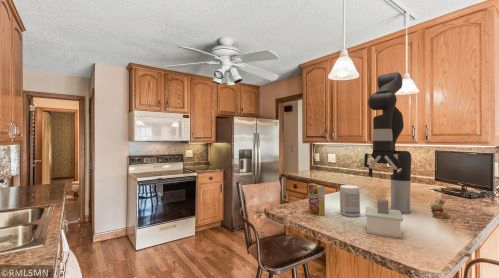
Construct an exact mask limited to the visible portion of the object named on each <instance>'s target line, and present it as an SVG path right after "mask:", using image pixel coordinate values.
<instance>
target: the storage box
mask: <svg viewBox="0 0 499 278" xmlns="http://www.w3.org/2000/svg"><path fill="white" fill-rule="evenodd" d="M366 234H369V235H375V236H376V235H377V236H381V237H388V238H394V239H401V234H402V233H401V221H394V220H386V219H378V218H370V217H366Z"/></svg>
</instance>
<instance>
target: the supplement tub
mask: <svg viewBox="0 0 499 278" xmlns="http://www.w3.org/2000/svg"><path fill="white" fill-rule="evenodd" d="M360 193H361V192H360V186H357V185H351V184H349V185H348V184H347V185H346V184H344V185H343V184H342V185H340V187H339V199H340V200H339V201H340V202H339V203H340V204H339V205H340V206H339V207H340V208H339V210H340V214H341V215H342V216H344V217H350V218H351V217H352V218H356V217H359V216H360V215H361V201H360V200H361V199H360V198H361V197H360V196H361V195H360Z"/></svg>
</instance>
